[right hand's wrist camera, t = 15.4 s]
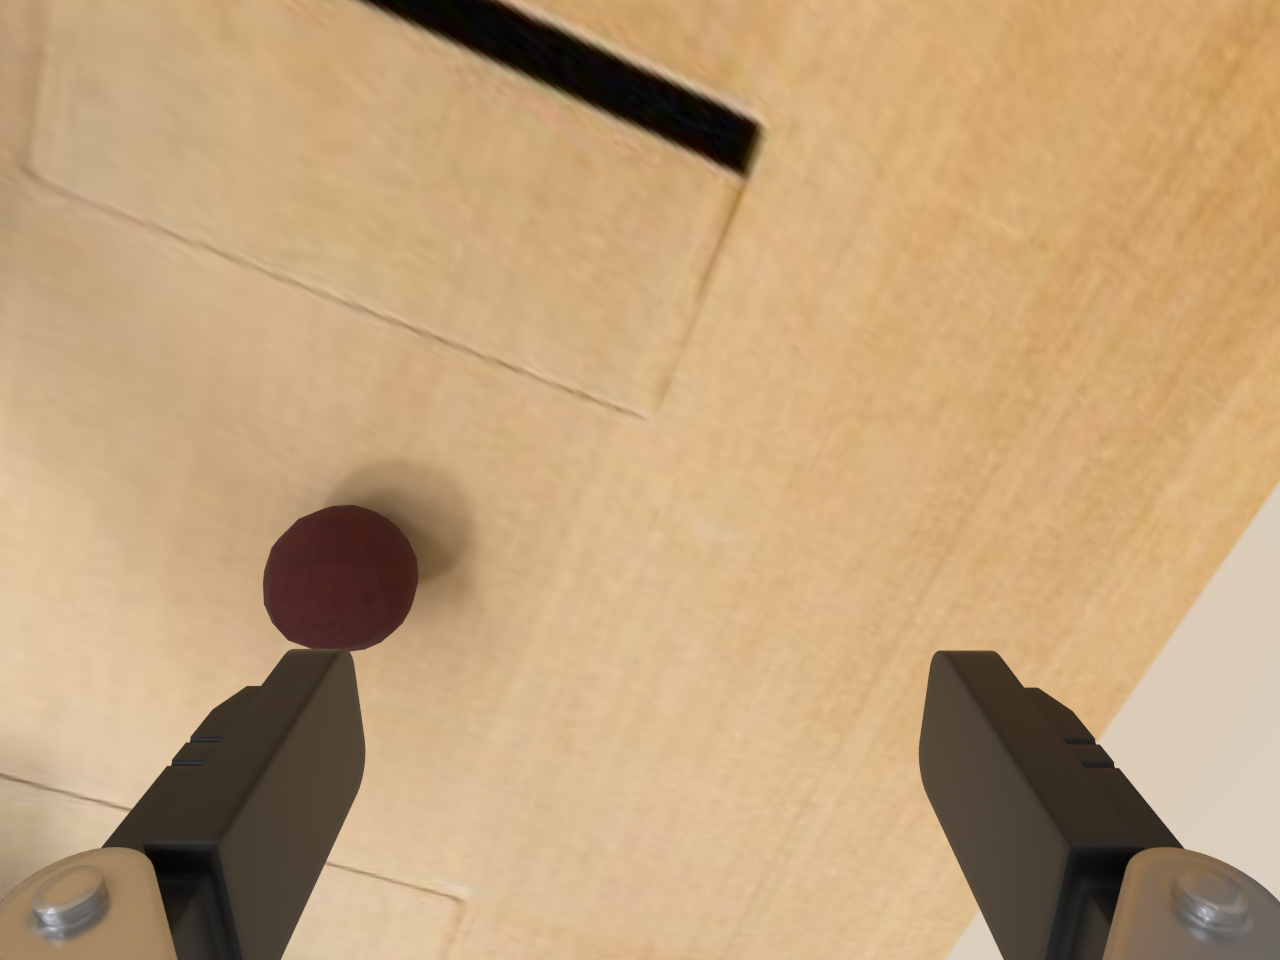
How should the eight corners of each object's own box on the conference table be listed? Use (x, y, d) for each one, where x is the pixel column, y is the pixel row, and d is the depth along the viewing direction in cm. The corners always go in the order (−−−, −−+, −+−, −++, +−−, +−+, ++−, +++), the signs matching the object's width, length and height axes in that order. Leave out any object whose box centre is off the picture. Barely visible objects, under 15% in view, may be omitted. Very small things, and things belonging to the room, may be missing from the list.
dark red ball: (444, 600, 47) (411, 670, 40) (310, 614, 47) (256, 686, 40) (416, 480, 44) (377, 533, 37) (275, 495, 44) (211, 551, 38)
